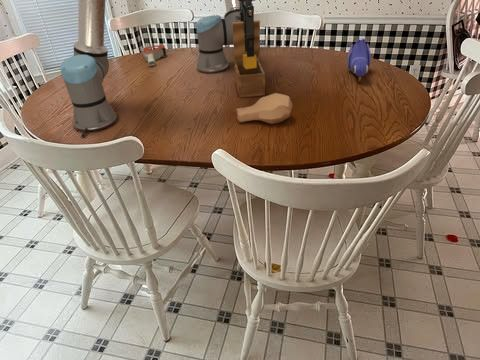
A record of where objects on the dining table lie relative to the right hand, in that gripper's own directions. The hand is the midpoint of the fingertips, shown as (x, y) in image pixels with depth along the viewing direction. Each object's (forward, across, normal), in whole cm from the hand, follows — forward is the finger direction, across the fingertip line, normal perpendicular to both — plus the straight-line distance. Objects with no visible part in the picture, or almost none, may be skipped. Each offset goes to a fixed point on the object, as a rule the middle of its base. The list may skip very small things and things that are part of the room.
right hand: (244, 29), depth 148 cm
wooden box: (+21, -11, 0) cm, 24 cm away
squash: (+21, -42, -2) cm, 47 cm away
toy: (+21, -8, -49) cm, 54 cm away
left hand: (+5, -15, 0) cm, 16 cm away
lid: (+4, -6, 0) cm, 7 cm away
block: (+11, -15, 0) cm, 18 cm away
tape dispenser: (+22, +41, +46) cm, 66 cm away
